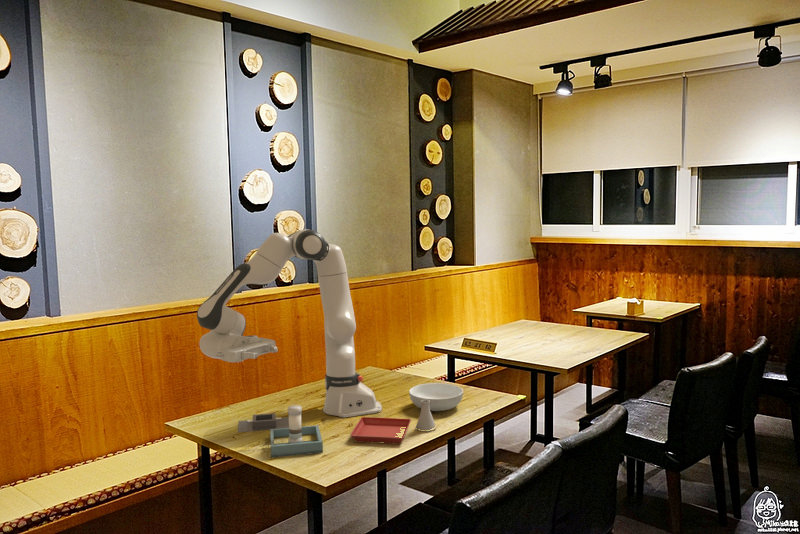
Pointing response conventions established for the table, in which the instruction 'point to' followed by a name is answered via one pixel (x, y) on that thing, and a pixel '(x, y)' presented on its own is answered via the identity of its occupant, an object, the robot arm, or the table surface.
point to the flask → (425, 417)
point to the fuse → (295, 424)
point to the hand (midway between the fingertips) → (266, 352)
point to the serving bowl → (437, 395)
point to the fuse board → (263, 423)
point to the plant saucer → (379, 429)
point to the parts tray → (296, 448)
